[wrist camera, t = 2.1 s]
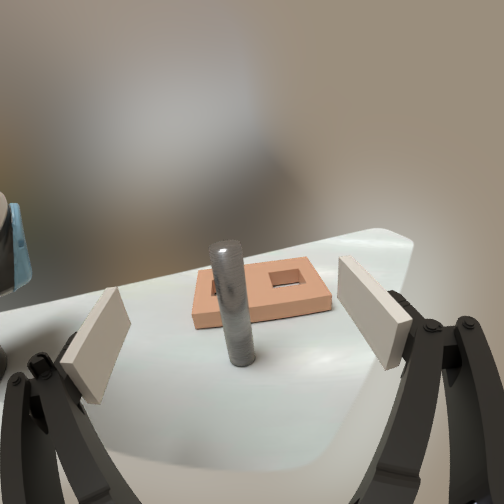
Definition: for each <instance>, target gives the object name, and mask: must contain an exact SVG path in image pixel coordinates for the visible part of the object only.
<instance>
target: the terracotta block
mask: <svg viewBox="0 0 504 504" xmlns="http://www.w3.org/2000/svg"><path fill="white" fill-rule="evenodd" d="M244 270H245V279H246V287H247V295H248V303H249V311H250V319H251V322H259V321H266V320H273V319H279V318H286V317H292V316H298V315H304V314H310V313H315V312H321V311H326V310H331V302H332V294H331V293H330V291H329V290H328V288H327V286H326V285H325V283H324V282H323V280H322V279H321V277H320V276H319V274H318V273H317V271H316V270H315V268H314V267H313V265H312V264H311V262H310V261H309V260H308V258H307V257H300V258H292V259H285V260H277V261H269V262H262V263H254V264H246V265H244ZM294 282H299V283H300V285H293V286H286V287H279V288H273V285H280V284H287V283H294ZM214 293H216V288H215V283H214V277H213V272H212V269H206V270H199V271H198V277H197V283H196V289H195V295H194V302H193V308H192V318H193V321H194V325H195V329H199V328H209V327H218V326H223V325H222V320H221V315H220V310H219V304H218V299H217V296H214Z"/></svg>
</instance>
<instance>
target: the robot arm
mask: <svg viewBox="0 0 504 504" xmlns="http://www.w3.org/2000/svg"><path fill="white" fill-rule="evenodd" d="M31 277H32V268H31V264H30V259H29V255H28V250H27V246H26V241H25V236H24V230H23V225H22V219H21V213H20V207H19V205H18V204H17V203H10V204H9V205H8V204H7V201H6V198H5V196H4V195H3V194H2V192H0V297H2V296H4V295H7V294H9V293H11V292H14V291H16V290H17V288H19V287H21V286H23V285H25V284H27V283H28V282H29V281H30V279H31ZM337 298H338V299H339V301H340V302H341V304H342V305H343V307H344V308H345V310H346V311H347V312H348V314H349V315H350V317H351V318H352V320H353V321H354V323H355V324H356V326H357V327H358V329H359V331H360V332H361V334H362V335H363V337H364V338H365V340H366V341H367V343H368V344H369V346H370V347H371V349H372V351H373V352H374V354H375V355H376V357H377V358H378V360H379V362H380V363H381V365H382V366H383V368H384V369H385V371H386V370H389V369H392V368H394V367H397V366H399V364H400V361H401V358H402V357H403V359H404V360H405V361H406V364H405V367H404V369H403V372H402V375H401V382H400V385H399V388H398V392H397V395H396V398H395V401H394V405H393V407H392V411H391V414H390V416H389V419H388V422H387V425H386V427H385V430H384V433H383V435H382V438H381V440H380V443H379V445H378V447H377V450H376V452H375V454H374V457H373V459H372V461H371V463H370V466H369V468H368V470H367V472H366V474H365V476H364V478H363V480H362V482H361V484H360V486H359V488H358V490H357V491H356V493H355V495H354V496H353V498H352V499H351V501H350V503H349V504H413V502H414V500H415V497H416V495H417V492H418V489H419V486H420V480H421V479H420V477H419V471H420V468H421V465H422V462H423V459H424V455H425V451H426V448H427V444H428V441H429V437H430V432H431V428H432V424H433V418H434V414H435V409H436V404H437V398H438V391H439V385H440V377H441V370H442V376H443V382H444V388H445V396H446V404H447V413H448V424H449V440H450V485H449V504H504V390H503V386H502V383H501V380H500V376H499V373H498V370H497V367H496V364H495V362H494V359H493V356H492V353H491V350H490V348H489V346H488V343H487V340H486V338H485V335H484V333H483V330H482V328H481V326H480V324H479V322H478V321H477V320H476V319H474V318H473V317H470V316H462V317H460V318H458V320H457V322H456V325H455V326H447V327H443V325H442V324H441V323H440V322H438V321H436V320H433V319H424V317H422V315H421V314H420V313H419V312H418V311H417V310H416V309H415V308H414V307H413V306H412V305H410V303H409V302H408V301H406V299H405V298H404V297H403V296H402V295H401V294H399V293H397V292H395V291H393V290H391V291H386V290H385V289H384V288H383V287H382V286H381V285H380V284H379V283H378V282H377V281H376V280H375V279H374V278H373V277H372V276H371V275H370V274H369V273H368V272H367V271H366V270H365V269H364V268H363V267H362V266H361V265H360V264H359V263H358V262H357V261H356V260H355V259H354V258H353V257H352V256H351V255H349V256H342V257H339V268H338V291H337ZM130 326H131V323H130V320H129V317H128V315H127V312H126V310H125V307H124V304H123V302H122V299H121V296H120V293H119V290H118V287H110V288H106V289H105V291H104V292H103V294H102V295H101V297H100V298H99V300H98V301H97V303H96V304H95V306H94V307H93V309H92V310H91V312H90V313H89V315H88V316H87V318H86V319H85V321H84V323H83V324H82V326H81V327H80V329H79V331H78V332H75V333H74V334H73V335H72V336H71V337H69V339H68V341H67V342H66V345H65V346H64V347H63V350H61V352H60V354H59V356H58V357H57V359H56V361H55V362H54V364H53V362H52V360H51V359H50V357H49V356H48V354H47V353H45V352H41V353H38V354H36V355H34V356H33V357H32V358H31V359H30V360H29V362H28V364H27V367H28V369H29V370H30V372H31V373H32V375H33V376H34V377H35V378H33V379H28V378H27V377H26V376H25V374H24V373H22V372H17V373H15V374H13V375H12V376H11V377H10V379H9V380H8V383H7V388H6V394H5V400H4V409H3V416H2V426H1V442H0V478H1V492H2V501H3V504H65V502H64V498H63V493H62V489H61V483H60V478H59V472H58V466H57V459H56V452H57V454H58V457H59V460H60V462H61V464H62V467H63V469H64V472H65V474H66V476H67V478H68V481H69V483H70V485H71V487H72V489H73V491H74V493H75V495H76V497H77V499H78V502H79V504H142V503H141V502H140V501H139V499H138V498H137V497H136V495H135V494H134V493H133V491H132V490H131V488H130V487H129V486H128V484H127V483H126V481H125V480H124V478H123V477H122V475H121V474H120V472H119V471H118V469H117V468H116V466H115V465H114V463H113V462H112V460H111V458H110V456H109V455H108V453H107V451H106V450H105V448H104V446H103V444H102V442H101V441H100V439H99V437H98V435H97V433H96V431H95V429H94V427H93V426H92V424H91V422H90V419H89V417H88V415H87V413H86V411H85V409H84V407H83V405H82V404H81V402H80V399H81V396H83V398H84V399H85V400H86V402H87V403H90V404H101V401H102V398H103V395H104V392H105V389H106V386H107V384H108V381H109V378H110V376H111V373H112V370H113V368H114V365H115V362H116V360H117V357H118V355H119V352H120V350H121V347H122V345H123V342H124V340H125V337H126V335H127V333H128V330H129V328H130ZM6 362H7V359H6V355H5V353H4V351H3V349H2V348H1V346H0V380H1V378H2V376H3V374H4V371H5V368H6ZM29 414H30V415H29ZM55 449H56V451H55Z"/></svg>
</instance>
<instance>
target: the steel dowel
mask: <svg viewBox="0 0 504 504" xmlns="http://www.w3.org/2000/svg"><path fill="white" fill-rule="evenodd" d="M209 253H210V259H211V266H212V272H213V277H214V283H215V288H216V294H217V299H218V304H219V310H220V315H221V320H222V325H223V330H224V335H225V340H226V345H227V349H228V354H229V359H230V362H231V363H232V364H234V365H236V366H247V365H249V364H251V363H252V362H253V361H254V359H255V351H254V343H253V335H252V327H251V319H250V311H249V303H248V295H247V287H246V279H245V270H244V262H243V253H242V245H241V243H240V242H239V241H236V240H223V241H219V242H216V243H213V244H212V245H210V246H209Z"/></svg>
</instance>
